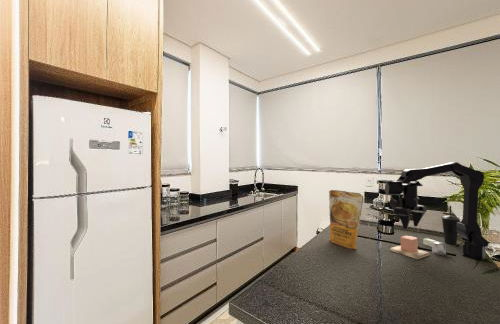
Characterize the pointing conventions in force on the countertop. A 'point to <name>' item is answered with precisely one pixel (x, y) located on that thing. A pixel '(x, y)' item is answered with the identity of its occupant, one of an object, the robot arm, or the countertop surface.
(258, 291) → the countertop surface
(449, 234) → the drinking cup
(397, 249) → the birch board
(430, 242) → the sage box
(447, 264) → the countertop surface
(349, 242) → the pancake mix bag
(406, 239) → the terracotta block
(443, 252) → the grey cylinder
